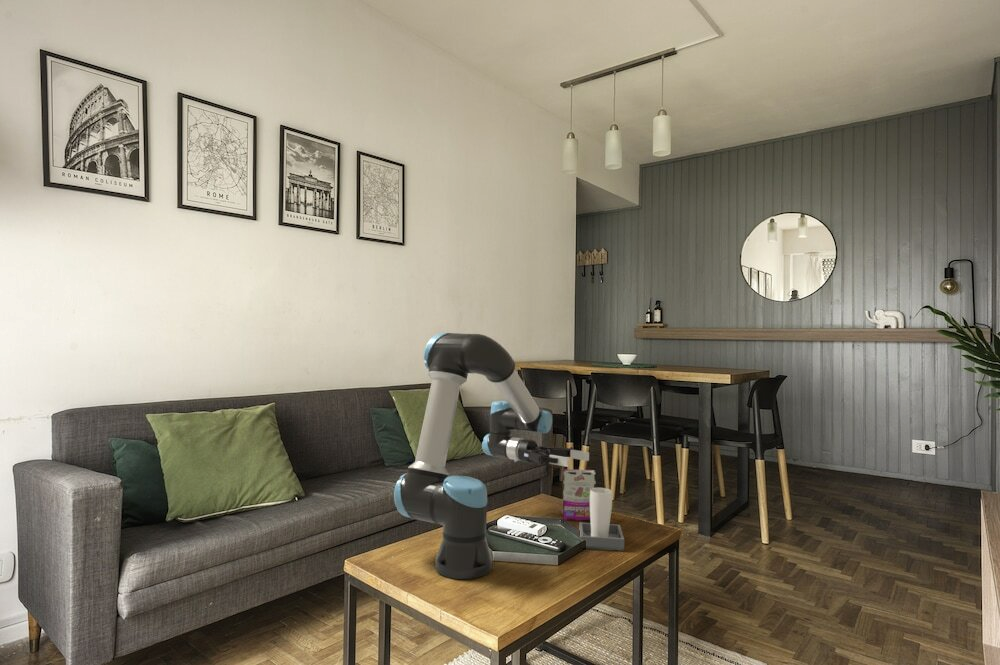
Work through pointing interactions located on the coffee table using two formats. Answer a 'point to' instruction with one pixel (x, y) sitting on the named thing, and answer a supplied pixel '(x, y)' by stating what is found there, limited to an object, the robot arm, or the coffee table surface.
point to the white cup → (600, 511)
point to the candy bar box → (577, 493)
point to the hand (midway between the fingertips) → (578, 459)
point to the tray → (603, 538)
